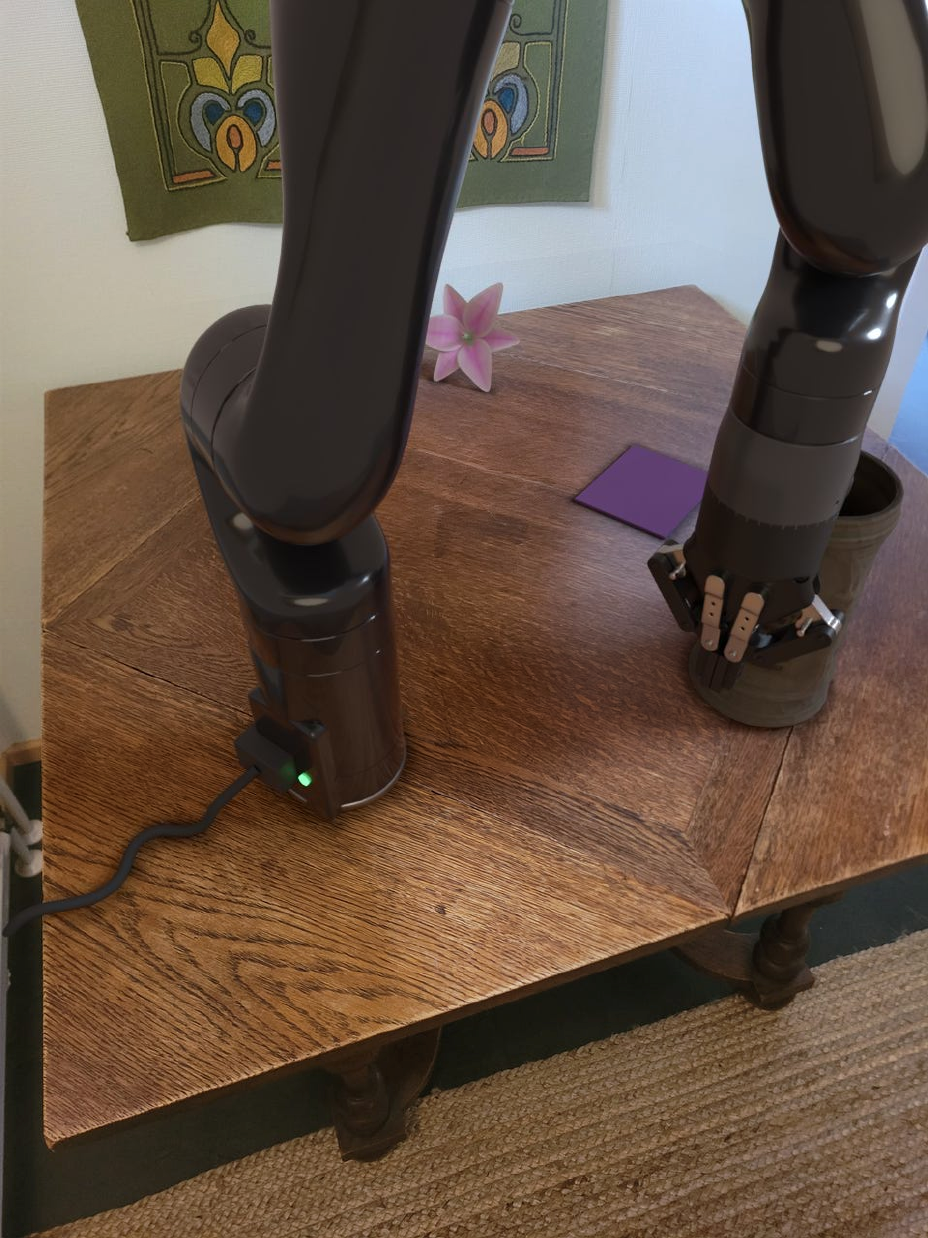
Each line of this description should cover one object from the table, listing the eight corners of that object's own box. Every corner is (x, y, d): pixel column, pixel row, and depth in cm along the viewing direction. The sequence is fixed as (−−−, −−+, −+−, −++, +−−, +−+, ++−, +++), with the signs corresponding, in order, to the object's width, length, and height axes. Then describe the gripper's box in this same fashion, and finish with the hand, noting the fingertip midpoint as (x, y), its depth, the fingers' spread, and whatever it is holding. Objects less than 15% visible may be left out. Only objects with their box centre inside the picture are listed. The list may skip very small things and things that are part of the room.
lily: (400, 367, 108) (392, 321, 98) (464, 304, 110) (461, 253, 100) (474, 425, 105) (472, 382, 96) (537, 359, 107) (541, 311, 98)
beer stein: (833, 748, 65) (931, 525, 52) (686, 725, 66) (746, 503, 53) (812, 617, 76) (889, 407, 63) (688, 599, 78) (738, 391, 65)
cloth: (664, 539, 82) (665, 537, 82) (574, 500, 87) (574, 498, 86) (720, 479, 89) (720, 477, 89) (633, 446, 94) (634, 444, 93)
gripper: (639, 469, 50) (606, 672, 62) (871, 560, 44) (784, 763, 57) (698, 413, 54) (656, 612, 66) (916, 489, 49) (826, 692, 61)
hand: (715, 681), depth 61 cm, fingers closed
